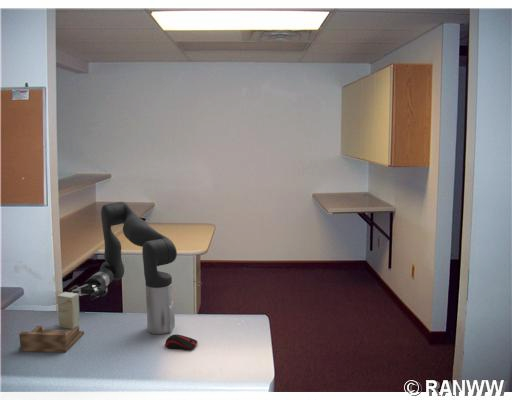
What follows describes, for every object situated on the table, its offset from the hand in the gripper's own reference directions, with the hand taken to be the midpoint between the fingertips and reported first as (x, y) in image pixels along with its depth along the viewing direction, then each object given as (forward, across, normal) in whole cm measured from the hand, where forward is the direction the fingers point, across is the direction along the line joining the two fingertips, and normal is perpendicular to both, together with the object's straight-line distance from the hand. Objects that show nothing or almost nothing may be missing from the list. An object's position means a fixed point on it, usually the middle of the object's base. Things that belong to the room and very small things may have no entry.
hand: (80, 297), depth 192 cm
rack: (+23, 0, +7) cm, 24 cm away
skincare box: (+10, 0, +7) cm, 12 cm away
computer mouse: (+22, +44, +8) cm, 50 cm away
